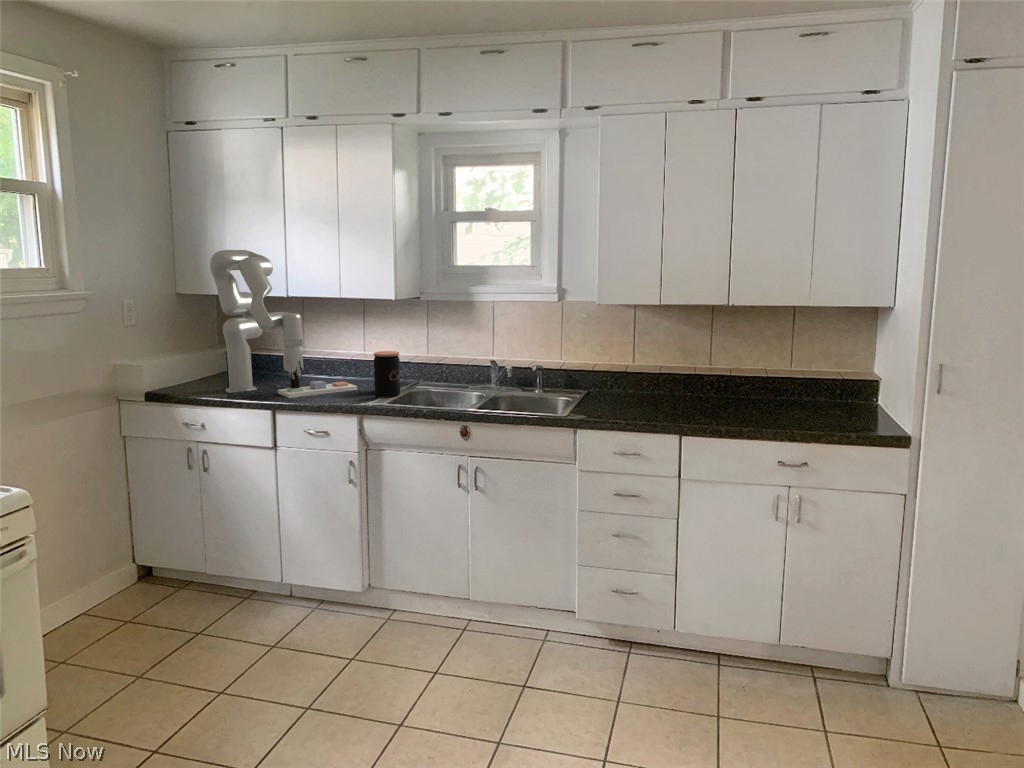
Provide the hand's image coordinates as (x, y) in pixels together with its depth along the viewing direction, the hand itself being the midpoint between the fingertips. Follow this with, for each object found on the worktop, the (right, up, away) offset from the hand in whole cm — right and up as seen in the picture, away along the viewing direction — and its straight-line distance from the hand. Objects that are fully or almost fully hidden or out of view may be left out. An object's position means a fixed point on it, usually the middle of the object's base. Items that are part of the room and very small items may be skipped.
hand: (295, 387), depth 312 cm
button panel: (+8, -3, +7) cm, 11 cm away
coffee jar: (+37, -3, +6) cm, 38 cm away
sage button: (0, -4, +1) cm, 4 cm away
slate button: (+8, -2, +6) cm, 10 cm away
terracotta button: (+16, -2, +13) cm, 20 cm away
